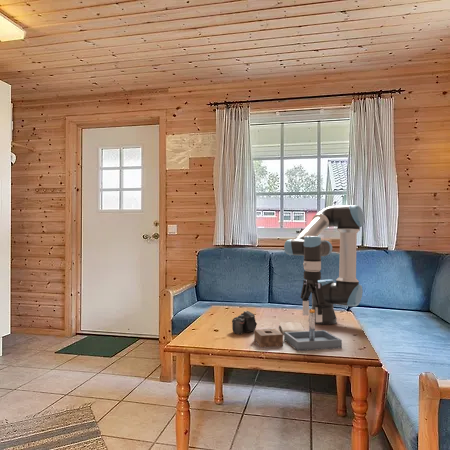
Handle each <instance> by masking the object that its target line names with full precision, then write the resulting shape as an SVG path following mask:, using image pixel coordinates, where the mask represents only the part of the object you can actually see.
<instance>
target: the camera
mask: <svg viewBox="0 0 450 450" xmlns="http://www.w3.org/2000/svg"><path fill="white" fill-rule="evenodd" d="M255 317H256V316H255V314H254V313H252V311H251V312H250V311H249V310H243V312H242V313H241V314H240V315H237V316H236V317H234V318H232V319H231V324H232V325H231V327H232V332H233V334H235V335H239V336H240V335H243V333H244V334H245V333H251V332H253V331H254V330H256V329H257V325H258V323H257V322H256V318H255Z"/></svg>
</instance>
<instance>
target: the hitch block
mask: <svg viewBox="0 0 450 450" xmlns="http://www.w3.org/2000/svg"><path fill="white" fill-rule="evenodd" d="M253 334H254V335H253V336H254V337H253V338H254V339H253V340H254V342H255V343H256V344H257V345H258V346H259V348H273V347H275V348H276V347H283V346H284V334H282V332H281V331H280V330H278V329H276V328H260V329H255V330H254V333H253Z"/></svg>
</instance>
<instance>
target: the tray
mask: <svg viewBox="0 0 450 450" xmlns="http://www.w3.org/2000/svg"><path fill="white" fill-rule="evenodd" d="M283 341H285V343H286V342H287V343H288V344H289V345H290V346H291V347H293V348H294V349H295V350H296V351H298V352H299V351H316V350H315V349H318V350H332V349H333V348H335V349H342V348H343V347H342V345H343V340H342V339H341V338H339V337H337V336H336V335H333V334H332V333H330V332H329V331H327V330H325V329H324V330H323V329H322V330H315V341H309V330H305V331H298V332H284V334H283ZM333 350H334V349H333Z"/></svg>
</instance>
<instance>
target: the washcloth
mask: <svg viewBox="0 0 450 450" xmlns="http://www.w3.org/2000/svg"><path fill="white" fill-rule="evenodd" d="M278 324H279V329H280V330H279V331H280V333H282V334H283V335H284V332H298V331H306V330H305V328H304V326H303V324H302V323H301V322H297V321H295V322H291V321H280V322H279V323H278Z"/></svg>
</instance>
